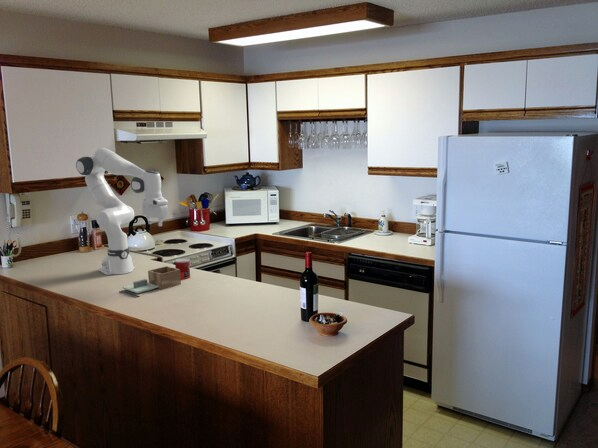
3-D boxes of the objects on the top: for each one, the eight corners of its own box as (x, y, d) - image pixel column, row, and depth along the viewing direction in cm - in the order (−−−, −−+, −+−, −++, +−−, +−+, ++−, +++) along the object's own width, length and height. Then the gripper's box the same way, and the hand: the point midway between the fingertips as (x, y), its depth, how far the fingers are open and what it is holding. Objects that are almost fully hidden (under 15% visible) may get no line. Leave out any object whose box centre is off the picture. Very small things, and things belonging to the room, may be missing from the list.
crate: (149, 286, 295) (148, 270, 293) (167, 281, 304) (166, 266, 302) (162, 290, 287) (161, 274, 285) (181, 285, 296) (180, 269, 294)
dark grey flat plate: (119, 291, 287) (119, 291, 287) (145, 284, 299) (145, 284, 299) (136, 297, 276) (136, 297, 276) (162, 290, 288) (162, 289, 288)
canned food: (187, 281, 304) (186, 261, 302) (173, 280, 306) (172, 261, 304) (192, 277, 312) (191, 258, 310) (179, 276, 313) (178, 258, 311)
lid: (123, 291, 287) (122, 281, 286) (144, 285, 297) (143, 276, 296) (137, 295, 279) (136, 285, 278) (158, 289, 288) (158, 280, 287)
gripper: (138, 198, 303) (139, 223, 306) (159, 202, 290) (160, 228, 292) (148, 197, 308) (149, 221, 310) (169, 201, 294) (170, 226, 297)
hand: (155, 225), depth 301 cm, fingers open, 8 cm apart
